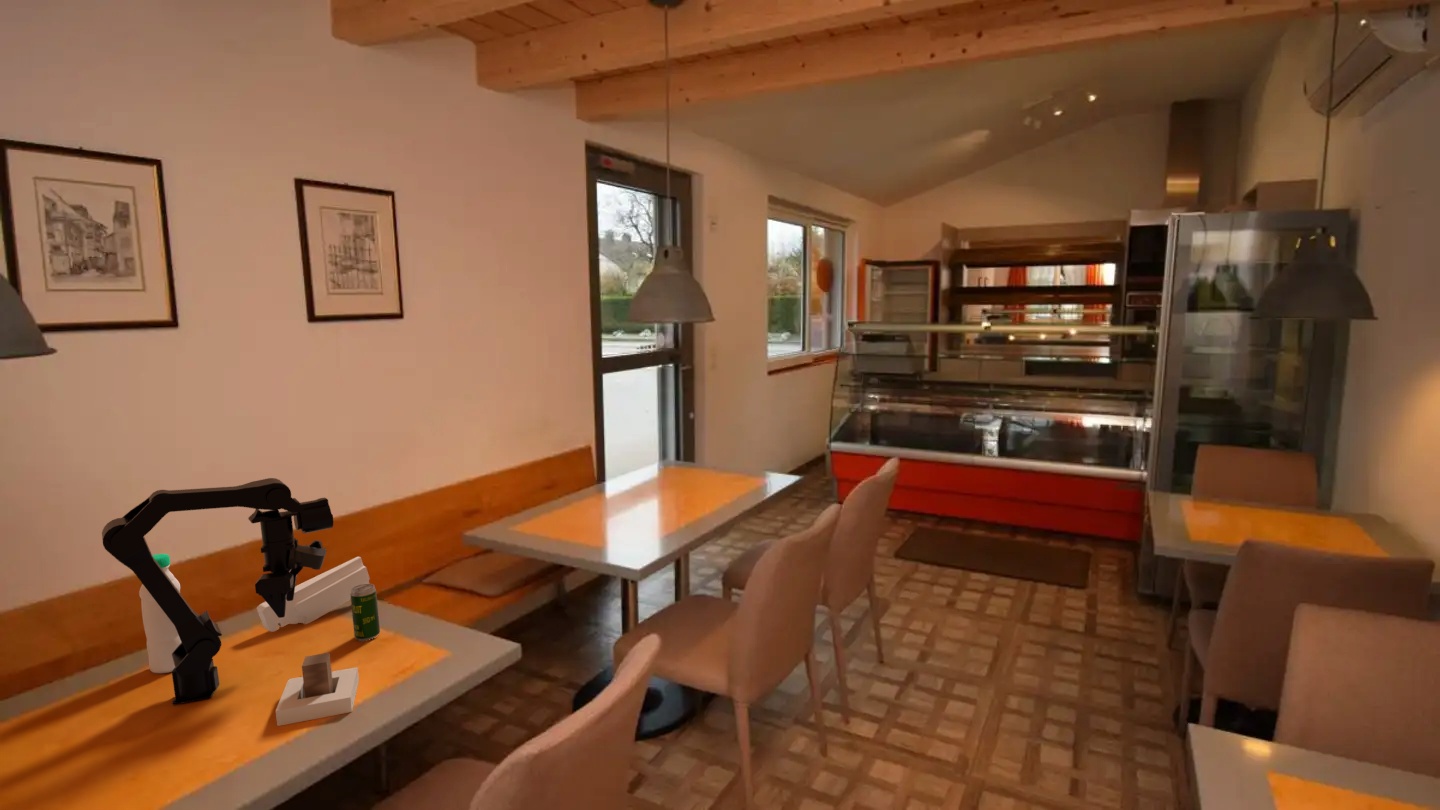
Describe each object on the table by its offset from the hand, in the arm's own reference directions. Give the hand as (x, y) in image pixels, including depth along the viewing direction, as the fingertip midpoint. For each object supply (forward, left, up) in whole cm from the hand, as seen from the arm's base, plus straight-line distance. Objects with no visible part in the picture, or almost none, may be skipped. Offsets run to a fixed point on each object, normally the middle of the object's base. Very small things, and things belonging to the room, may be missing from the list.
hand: (286, 608), depth 158 cm
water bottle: (-25, +10, -13) cm, 30 cm away
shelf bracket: (+2, +26, -13) cm, 30 cm away
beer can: (+14, +9, -13) cm, 21 cm away
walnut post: (+8, -19, -13) cm, 24 cm away
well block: (+8, -19, -13) cm, 24 cm away
